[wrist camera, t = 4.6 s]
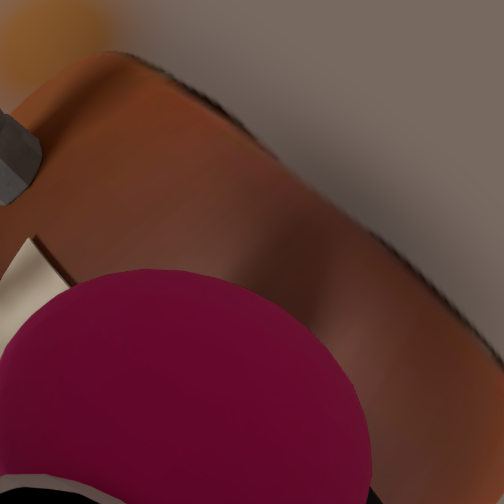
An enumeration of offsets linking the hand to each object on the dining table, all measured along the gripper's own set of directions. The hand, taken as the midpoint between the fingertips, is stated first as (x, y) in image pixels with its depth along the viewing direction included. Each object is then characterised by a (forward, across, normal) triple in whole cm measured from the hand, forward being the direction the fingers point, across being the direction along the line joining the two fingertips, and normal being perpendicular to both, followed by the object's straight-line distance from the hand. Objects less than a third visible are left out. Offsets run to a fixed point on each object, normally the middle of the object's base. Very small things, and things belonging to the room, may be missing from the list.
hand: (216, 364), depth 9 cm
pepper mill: (+7, 0, +9) cm, 11 cm away
